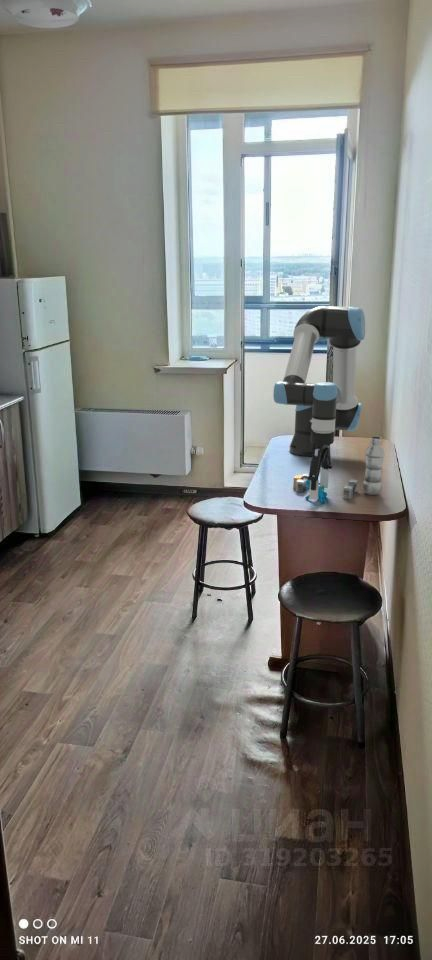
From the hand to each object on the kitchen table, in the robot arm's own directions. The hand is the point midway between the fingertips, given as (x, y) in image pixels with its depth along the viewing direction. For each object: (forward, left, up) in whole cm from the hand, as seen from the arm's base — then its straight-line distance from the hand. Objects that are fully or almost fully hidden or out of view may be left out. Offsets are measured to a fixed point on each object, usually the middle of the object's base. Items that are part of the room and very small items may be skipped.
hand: (318, 493), depth 226 cm
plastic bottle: (-15, +15, -3) cm, 21 cm away
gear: (0, -1, -3) cm, 3 cm away
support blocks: (-11, 0, -3) cm, 12 cm away
